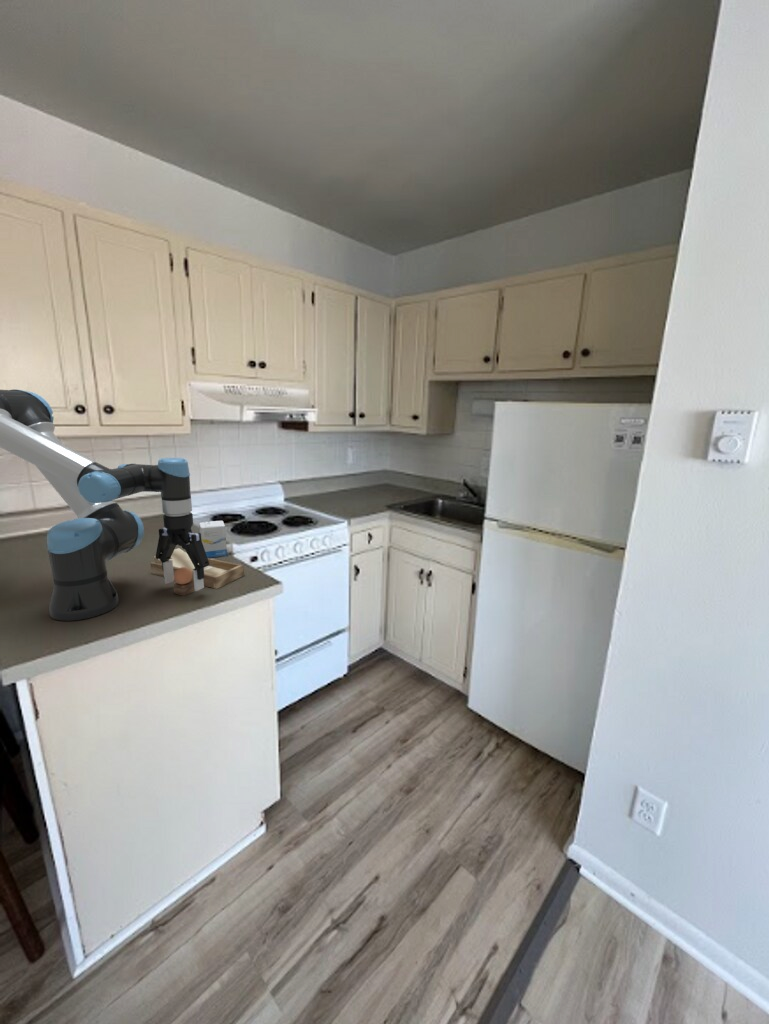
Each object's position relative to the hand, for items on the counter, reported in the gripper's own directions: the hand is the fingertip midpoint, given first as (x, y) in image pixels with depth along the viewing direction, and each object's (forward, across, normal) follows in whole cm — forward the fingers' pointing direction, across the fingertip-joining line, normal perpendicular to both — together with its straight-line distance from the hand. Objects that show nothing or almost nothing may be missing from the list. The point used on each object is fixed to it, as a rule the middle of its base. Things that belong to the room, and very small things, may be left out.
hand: (184, 585), depth 125 cm
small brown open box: (+2, 0, 0) cm, 2 cm away
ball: (-3, 0, 0) cm, 3 cm away
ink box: (+2, +18, -30) cm, 35 cm away
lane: (+2, +7, -12) cm, 14 cm away
